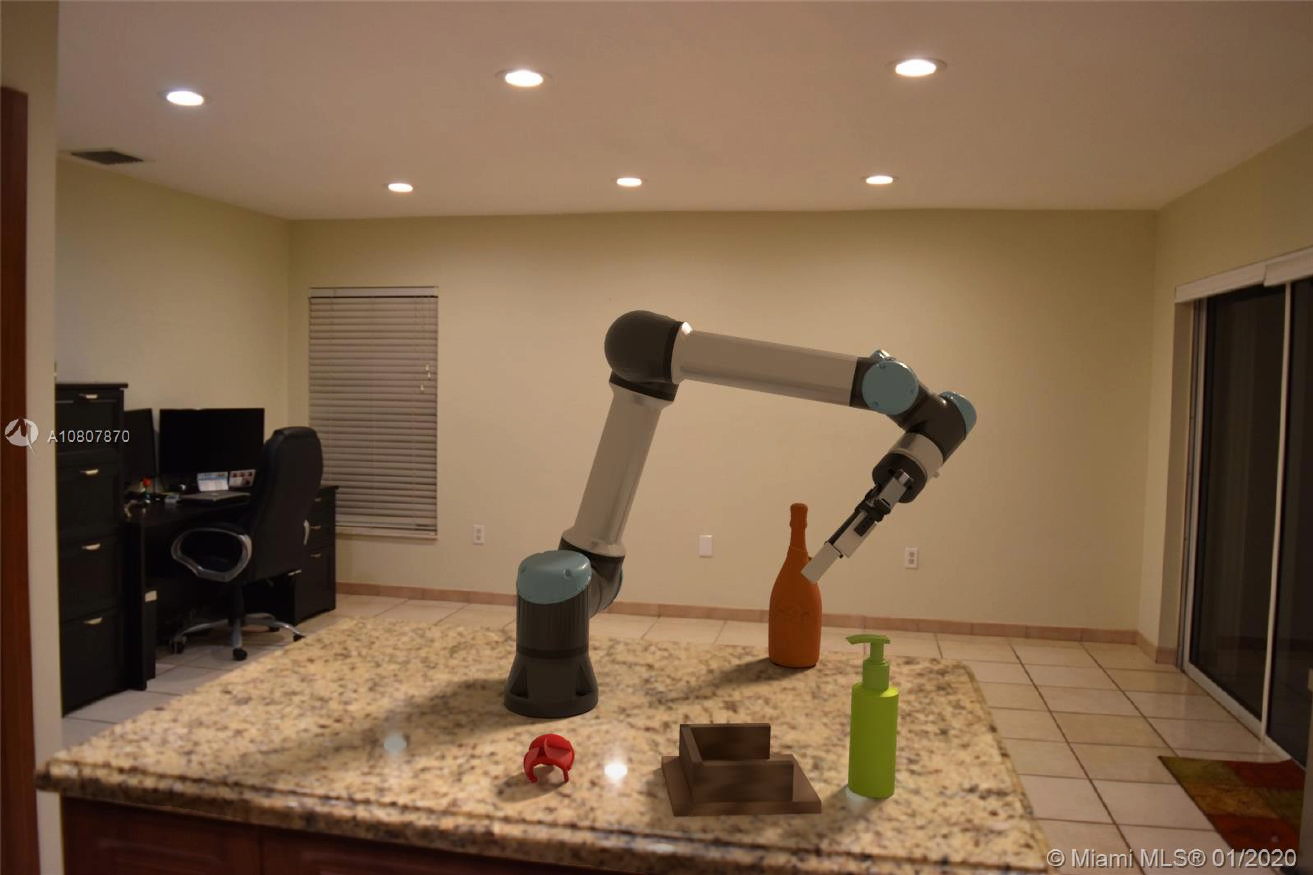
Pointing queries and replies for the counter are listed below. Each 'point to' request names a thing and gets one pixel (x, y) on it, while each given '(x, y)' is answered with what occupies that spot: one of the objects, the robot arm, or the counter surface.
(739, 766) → the u rest
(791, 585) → the wine bottle
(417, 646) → the counter surface
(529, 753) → the cap
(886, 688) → the soap dispenser
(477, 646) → the counter surface
